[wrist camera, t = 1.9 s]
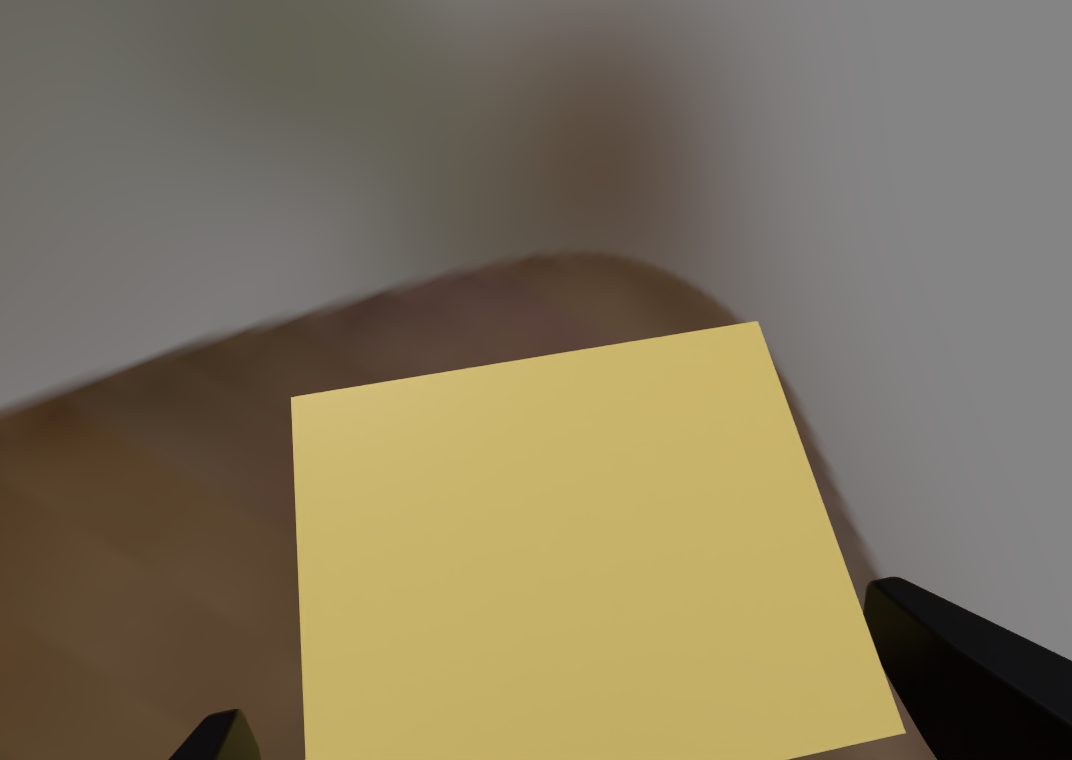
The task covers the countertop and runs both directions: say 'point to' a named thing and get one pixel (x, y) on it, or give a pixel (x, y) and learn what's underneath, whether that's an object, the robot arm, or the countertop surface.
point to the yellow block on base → (576, 565)
